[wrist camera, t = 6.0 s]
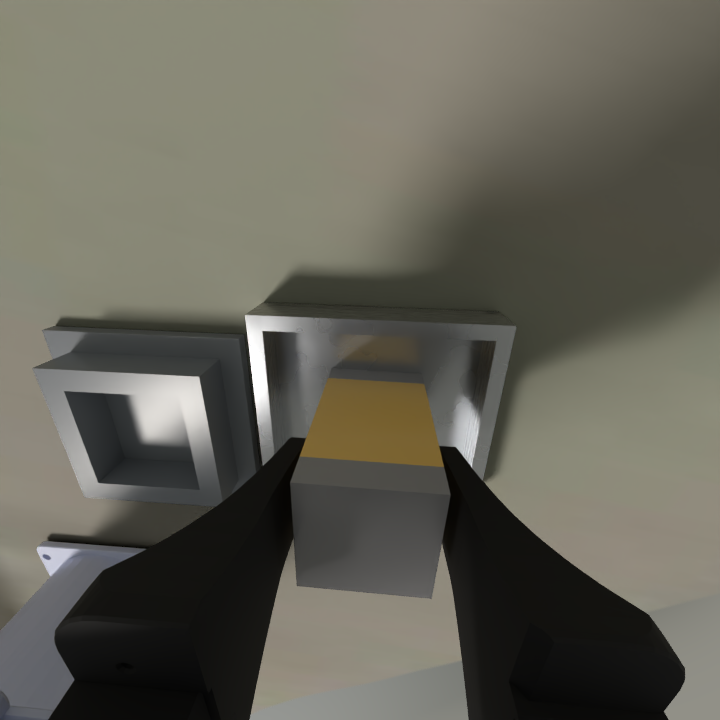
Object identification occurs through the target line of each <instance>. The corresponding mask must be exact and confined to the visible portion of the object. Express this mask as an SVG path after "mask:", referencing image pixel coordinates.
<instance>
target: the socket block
mask: <svg viewBox="0 0 720 720" xmlns="http://www.w3.org/2000/svg"><path fill="white" fill-rule="evenodd" d="M42 331H43V334H44V337H45V340H46V342H47V345H48V348H49V350H50V353H51V356H52V358H53V360H50V361H48V362H46V363H43V364H41V365H39V366H36V367H34V368H32V369H33V371H34V374H35V376H36V378H37V381H38V383H39V386H40V388H41V391H42V393H43V396H44V398H45V401H46V403H47V406H48V408H49V411H50V413H51V416H52V418H53V420H54V423H55V425H56V428H57V430H58V433H59V435H60V438H61V440H62V443H63V445H64V448H65V450H66V453H67V455H68V458H69V460H70V462H71V465H72V467H73V470H74V472H75V475H76V477H77V480H78V482H79V485H80V487H81V490H82V492H83V495H84V497H85V498H99V499H113V500H127V501H141V502H156V503H170V504H184V505H198V506H212V507H216V506H217V505H219V504H220V503H221V502H223V501H224V500H225V499H227V498H228V497H229V496H230V495H231V494H233V493H234V492H235V491H236V490H237V489H239V488H240V487H241V486H242V485H243V484H244V483H245V482H246V481H248V480H249V479H250V478H251V477H252V476H253V475H254V474H255V473H256V472H257V471H258V470H259V469H260V462H259V453H258V445H257V437H256V429H255V420H254V412H253V404H252V396H251V387H250V379H249V371H248V363H247V354H246V346H245V338H244V334H222V333H199V332H176V331H153V330H131V329H108V328H85V327H62V326H53V327H50V328H47V329H44V330H42Z"/></svg>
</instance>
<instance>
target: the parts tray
mask: <svg viewBox="0 0 720 720" xmlns="http://www.w3.org/2000/svg"><path fill="white" fill-rule="evenodd" d="M245 319H246V327H247V336H248V344H249V353H250V361H251V370H252V378H253V387H254V395H255V404H256V413H257V421H258V430H259V438H260V447H261V455H262V464H263V465H264V464H265V463H266V462H267V461H268V460H269V459H270V458H271V457H272V456H273V455H274V454H275V453H276V452H277V451H278V450H279V449H280V448H281V447H282V446H283V445H284V444H285V442H286V441H287V440H288V439H289V438H291V437H299V438H306V437H307V435H308V432H309V429H310V426H311V424H312V421H313V418H314V415H315V413H316V410H317V407H318V404H319V402H320V399H321V396H322V393H323V390H324V388H325V385H326V382H327V379H328V377H329V374H330V371H331V368H336V369H354V370H371V371H389V372H405V373H422V376H423V380H424V384H425V389H426V393H427V397H428V401H429V406H430V410H431V414H432V418H433V423H434V427H435V431H436V435H437V439H438V444H439V446H450V447H456V448H457V449H458V450H459V451H460V453H461V454H462V455H463V457H464V458H465V459H466V461H467V462H468V463H469V464H470V466H471V467H472V468H473V470H474V471H475V472H476V473H477V475H478V476H479V477H480V478H481V479H482V481H483V477H484V473H485V468H486V464H487V459H488V455H489V450H490V445H491V441H492V436H493V432H494V427H495V423H496V418H497V413H498V409H499V404H500V400H501V395H502V391H503V386H504V382H505V377H506V372H507V368H508V363H509V359H510V354H511V350H512V345H513V340H514V336H515V331H516V327H517V326H516V325H515V324H513V323H512V322H511V321H510V320H509V319H507V318H506V317H505V316H504V315H502V314H501V313H500V312H494V311H468V310H443V309H417V308H391V307H366V306H340V305H314V304H288V303H261V304H260V305H259V306H257V307H256V308H254V309H253V310H251V311H250V312H249V313H247V314H246V315H245Z"/></svg>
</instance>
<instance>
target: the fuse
mask: <svg viewBox="0 0 720 720" xmlns="http://www.w3.org/2000/svg"><path fill="white" fill-rule="evenodd" d="M290 487H291V503H292V518H293V534H294V549H295V565H296V580H297V586H303V587H313V588H324V589H335V590H345V591H356V592H366V593H377V594H388V595H398V596H409V597H419V598H430V599H432V593H433V588H434V583H435V577H436V572H437V566H438V561H439V555H440V550H441V545H442V539H443V534H444V528H445V523H446V517H447V512H448V507H449V501H450V496H451V494H450V490H449V486H448V482H447V478H446V473H445V469H444V465H443V461H442V456H441V452H440V448H439V444H438V439H437V435H436V431H435V427H434V423H433V418H432V414H431V410H430V406H429V401H428V397H427V393H426V389H425V384H424V380H423V376H422V373H405V372H389V371H371V370H354V369H336V368H331V371H330V374H329V377H328V379H327V382H326V385H325V388H324V390H323V393H322V396H321V399H320V402H319V404H318V407H317V410H316V413H315V415H314V418H313V421H312V424H311V426H310V429H309V432H308V435H307V437H306V440H305V443H304V446H303V449H302V451H301V454H300V457H299V460H298V462H297V465H296V468H295V471H294V473H293V476H292V479H291V482H290Z"/></svg>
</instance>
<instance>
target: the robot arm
mask: <svg viewBox="0 0 720 720" xmlns="http://www.w3.org/2000/svg"><path fill="white" fill-rule="evenodd" d="M305 440H306V438H299V437H291V438H289V439H288V440H287V441H286V442H285V444H284V445H283V446H282V447H281V448H280V449H279V450H278V451H277V452H276V453H275V454H274V455H273V456H272V457H271V458H270V459H269V460H268V461H267V462H266V463H265V464H264V465H263V466H262V467H261V468H260V469H259V470H258V471H257V472H256V473H255V474H254V475H253V476H252V477H251V478H250V479H249V480H248V481H246V482H245V483H244V484H243V485H242V486H241V487H240V488H239V489H237V490H236V491H235V492H234V493H233V494H231V495H230V496H229V497H228V498H227V499H225V500H224V501H223V502H221V503H220V504H219V505H217V506H216V507H215V508H213V509H212V510H211V511H209V512H208V513H206V514H205V515H203V516H202V517H200V518H199V519H197V520H195V521H194V522H192V523H191V524H189V525H188V526H186V527H185V528H183V529H182V530H180V531H178V532H176V533H175V534H173V535H171V536H170V537H168V538H166V539H164V540H163V541H161V542H159V543H157V544H155V545H153V546H152V547H150V548H148V549H141V548H129V547H116V546H103V545H90V544H78V543H65V542H52V541H44V542H42V543H41V544H40V545H39V546H38V547H37V552H38V554H39V556H40V558H41V559H42V561H43V563H44V565H45V567H46V569H47V571H48V573H49V575H50V578H49V579H48V580H47V581H46V582H45V583H44V584H43V585H42V586H41V588H40V589H39V590H38V591H37V592H36V593H35V594H34V595H33V596H32V597H31V598H30V599H29V600H28V602H27V603H26V604H25V605H24V606H23V607H22V608H21V609H20V610H19V611H18V612H17V613H16V614H15V616H14V617H13V618H12V619H11V620H10V621H9V622H8V623H7V624H6V625H5V626H4V627H3V629H2V630H1V631H0V720H249V719H250V714H251V709H252V704H253V699H254V694H255V689H256V684H257V679H258V675H259V670H260V665H261V660H262V656H263V651H264V646H265V642H266V637H267V633H268V628H269V624H270V619H271V615H272V610H273V606H274V602H275V598H276V594H277V589H278V585H279V581H280V577H281V574H282V570H283V567H284V564H285V561H286V558H287V555H288V552H289V549H290V546H291V543H292V540H293V537H294V534H293V518H292V503H291V487H290V482H291V479H292V476H293V473H294V471H295V468H296V465H297V462H298V460H299V457H300V454H301V451H302V449H303V446H304V443H305ZM439 448H440V452H441V456H442V461H443V465H444V469H445V473H446V478H447V482H448V486H449V490H450V494H451V496H450V501H449V507H448V512H447V517H446V523H445V528H444V534H443V539H442V544H443V549H444V553H445V557H446V562H447V566H448V570H449V574H450V579H451V584H452V589H453V595H454V603H455V610H456V617H457V624H458V632H459V640H460V647H461V655H462V663H463V672H464V681H465V689H466V698H467V707H468V717H469V720H668V718H667V716H666V715H665V713H664V710H665V709H666V708H667V706H668V705H669V704H670V703H671V701H672V700H673V699H674V697H675V696H676V695H677V693H678V692H679V691H680V689H681V687H682V685H683V683H684V680H685V668H684V666H683V665H682V663H681V661H680V660H679V658H678V657H677V655H676V654H675V652H674V651H673V649H672V647H671V646H670V644H669V643H668V641H667V640H666V638H665V637H664V635H663V634H662V632H661V631H660V630H659V628H658V627H657V625H656V624H655V623H654V621H653V620H652V619H651V617H650V616H649V615H648V614H647V613H645V612H644V611H642V610H640V609H639V608H637V607H636V606H634V605H632V604H631V603H629V602H628V601H626V600H624V599H623V598H621V597H620V596H618V595H616V594H615V593H613V592H612V591H610V590H609V589H607V588H605V587H604V586H602V585H601V584H599V583H598V582H597V581H595V580H594V579H592V578H591V577H589V576H588V575H587V574H585V573H584V572H582V571H581V570H579V569H578V568H577V567H575V566H574V565H573V564H571V563H570V562H569V561H567V560H566V559H565V558H563V557H562V556H561V555H560V554H558V553H557V552H556V551H555V550H553V549H552V548H551V547H550V546H548V545H547V544H546V543H545V542H543V541H542V540H541V539H540V538H539V537H537V536H536V535H535V534H534V533H533V532H532V531H531V530H530V529H528V528H527V527H526V526H525V525H524V524H523V523H522V522H521V521H520V520H519V519H518V518H517V517H515V516H514V515H513V514H512V513H511V512H510V511H509V510H508V509H507V507H506V506H505V505H504V504H503V503H502V502H501V501H500V500H499V499H498V498H497V497H496V496H495V495H494V493H493V492H492V491H491V490H490V489H489V488H488V486H487V485H486V484H485V483H484V482H483V481H482V479H481V478H480V477H479V476H478V475H477V473H476V472H475V471H474V470H473V468H472V467H471V466H470V464H469V463H468V462H467V461H466V459H465V458H464V457H463V455H462V454H461V453H460V451H459V450H458V449H457V448H456V447H450V446H439Z"/></svg>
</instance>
